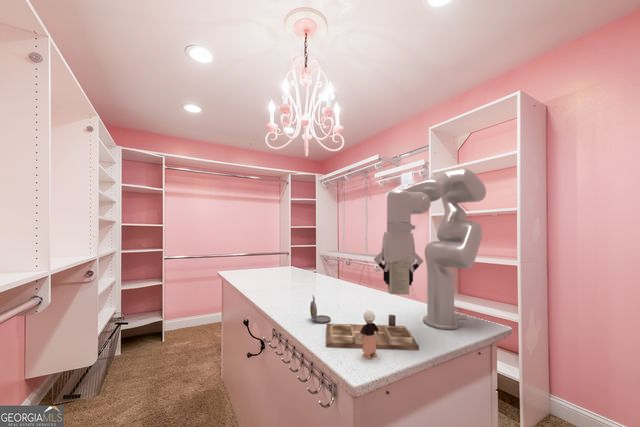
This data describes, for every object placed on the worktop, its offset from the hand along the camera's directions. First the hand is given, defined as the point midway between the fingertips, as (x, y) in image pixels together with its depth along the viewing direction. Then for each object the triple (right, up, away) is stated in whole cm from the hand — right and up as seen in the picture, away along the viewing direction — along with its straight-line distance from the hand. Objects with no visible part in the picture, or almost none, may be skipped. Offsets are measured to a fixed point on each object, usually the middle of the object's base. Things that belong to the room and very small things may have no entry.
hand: (398, 283), depth 85 cm
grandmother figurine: (-11, -18, -10) cm, 24 cm away
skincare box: (0, -3, 0) cm, 3 cm away
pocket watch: (-26, -19, +17) cm, 36 cm away
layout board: (-9, -19, +3) cm, 21 cm away
